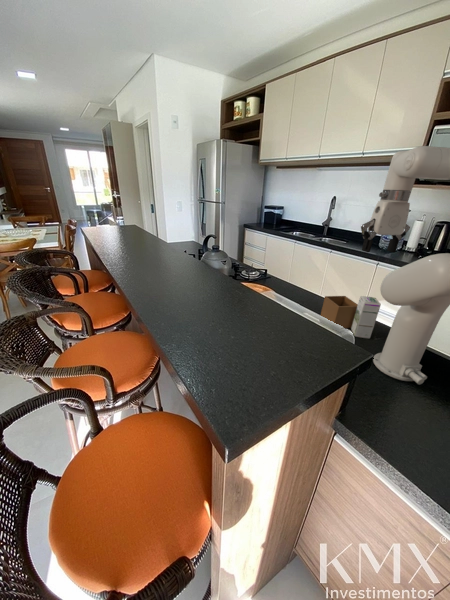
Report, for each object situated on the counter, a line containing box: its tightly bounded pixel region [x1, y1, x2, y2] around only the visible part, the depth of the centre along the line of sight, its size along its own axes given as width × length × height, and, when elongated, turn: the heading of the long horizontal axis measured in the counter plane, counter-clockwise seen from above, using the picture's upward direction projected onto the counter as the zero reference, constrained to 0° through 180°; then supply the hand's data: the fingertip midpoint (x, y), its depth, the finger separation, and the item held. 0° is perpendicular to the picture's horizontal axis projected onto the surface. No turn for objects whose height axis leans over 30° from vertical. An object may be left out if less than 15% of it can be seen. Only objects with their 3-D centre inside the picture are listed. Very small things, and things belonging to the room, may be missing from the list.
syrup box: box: [350, 295, 382, 339], centre depth 92 cm, size 6×6×14 cm
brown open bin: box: [320, 295, 358, 329], centre depth 101 cm, size 10×9×10 cm
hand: (378, 251), depth 84 cm, fingers open, 9 cm apart
